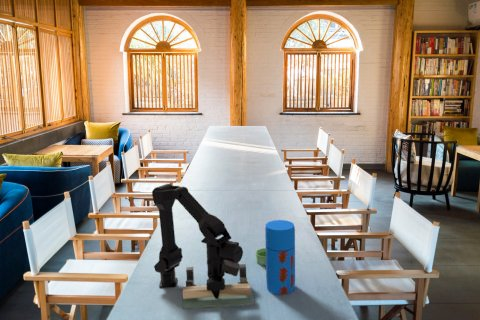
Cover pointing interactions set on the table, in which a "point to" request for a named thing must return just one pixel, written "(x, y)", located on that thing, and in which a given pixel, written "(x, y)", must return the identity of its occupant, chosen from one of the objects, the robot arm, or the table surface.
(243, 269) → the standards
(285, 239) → the thermos
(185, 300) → the mat
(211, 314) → the table surface
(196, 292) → the rail
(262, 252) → the ramekin
